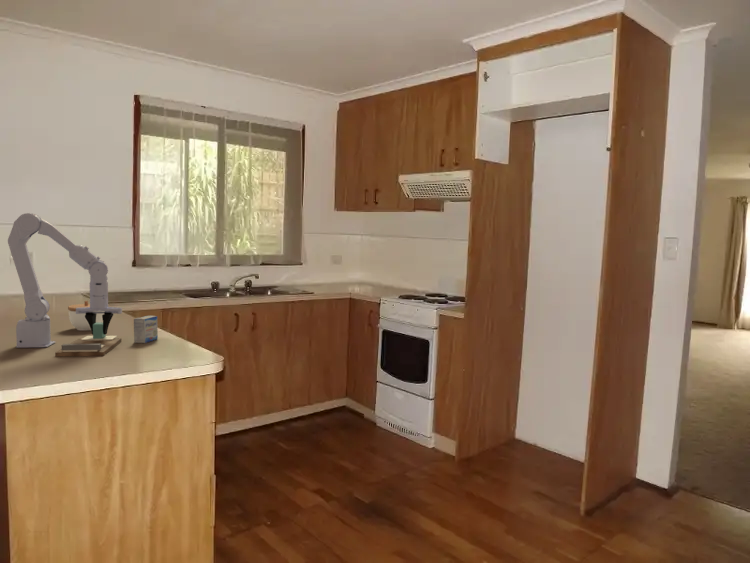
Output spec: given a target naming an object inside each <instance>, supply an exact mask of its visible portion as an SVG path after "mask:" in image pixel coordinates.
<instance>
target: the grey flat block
mask: <svg viewBox="0 0 750 563" xmlns="http://www.w3.org/2000/svg"><path fill="white" fill-rule="evenodd" d="M104 346H105V344H71V343H63V344H62V345H61V349H62V350H63V352H95V351H99V350H100V349H101V348H103V347H104Z"/></svg>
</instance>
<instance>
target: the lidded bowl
mask: <svg viewBox="0 0 750 563" xmlns="http://www.w3.org/2000/svg"><path fill="white" fill-rule="evenodd" d="M83 307H90V303H89V301H88V300H85V301H84V303H79V304H78V303H77V304H70V305H69V306H67V310H68V319H69V322H70V323H71V326H72V327H74V328H75V329H76V331H91V328H90V325H89V323H88V321H87V320H86V318H85V315H86V313H80V314H76V308H83ZM99 312H104V311H99ZM103 314H104V313H97V314H96V322H103V318H102V315H103Z"/></svg>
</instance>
